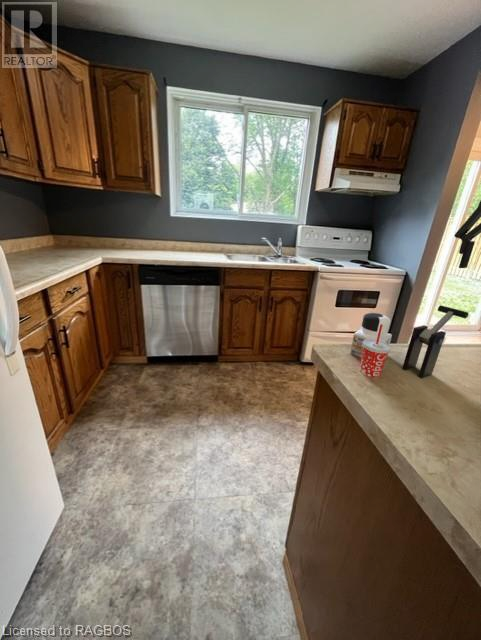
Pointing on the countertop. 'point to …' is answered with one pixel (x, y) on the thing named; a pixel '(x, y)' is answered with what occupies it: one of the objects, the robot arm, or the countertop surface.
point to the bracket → (430, 353)
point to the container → (370, 332)
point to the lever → (441, 322)
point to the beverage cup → (374, 356)
